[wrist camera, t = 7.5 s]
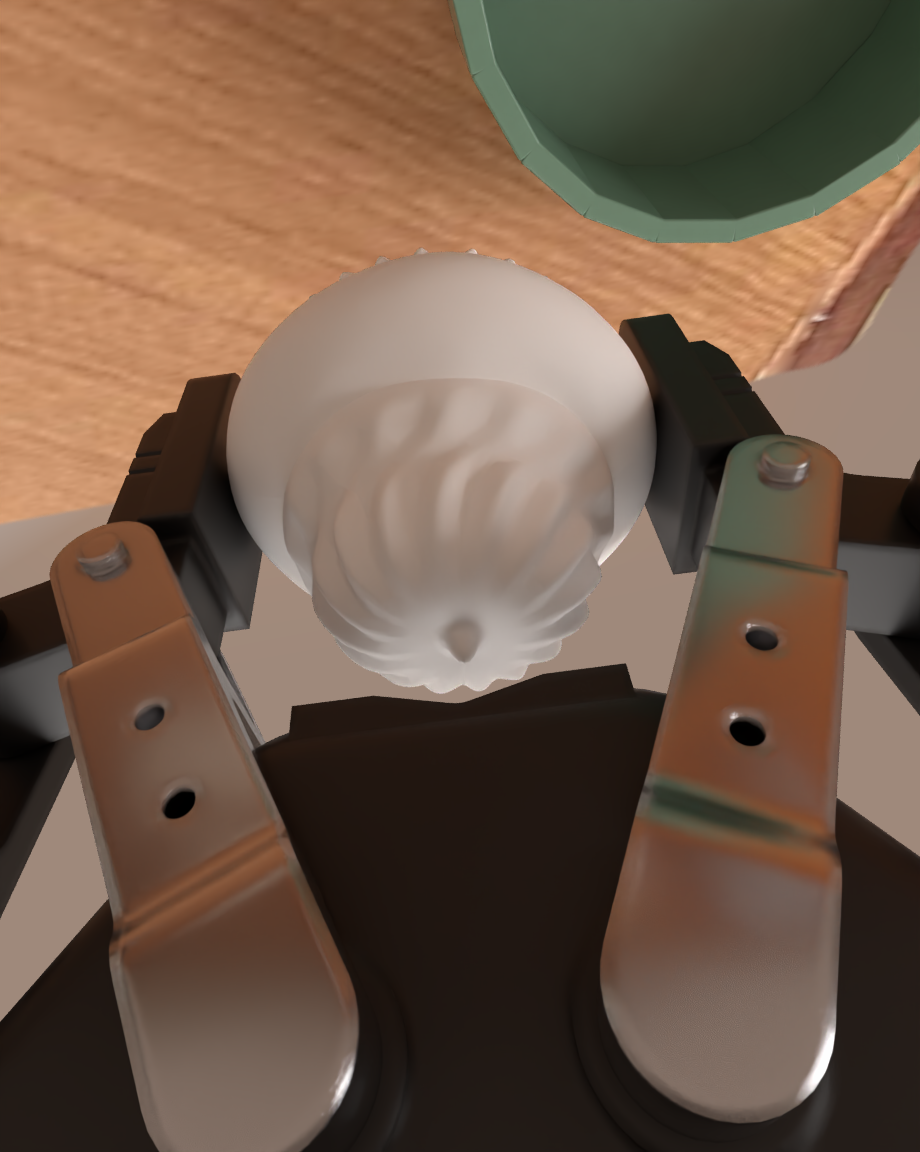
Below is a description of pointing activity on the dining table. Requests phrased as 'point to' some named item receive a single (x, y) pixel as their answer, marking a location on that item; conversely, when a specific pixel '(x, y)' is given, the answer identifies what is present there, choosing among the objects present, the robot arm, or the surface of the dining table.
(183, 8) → the dining table surface
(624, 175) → the tin
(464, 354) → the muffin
